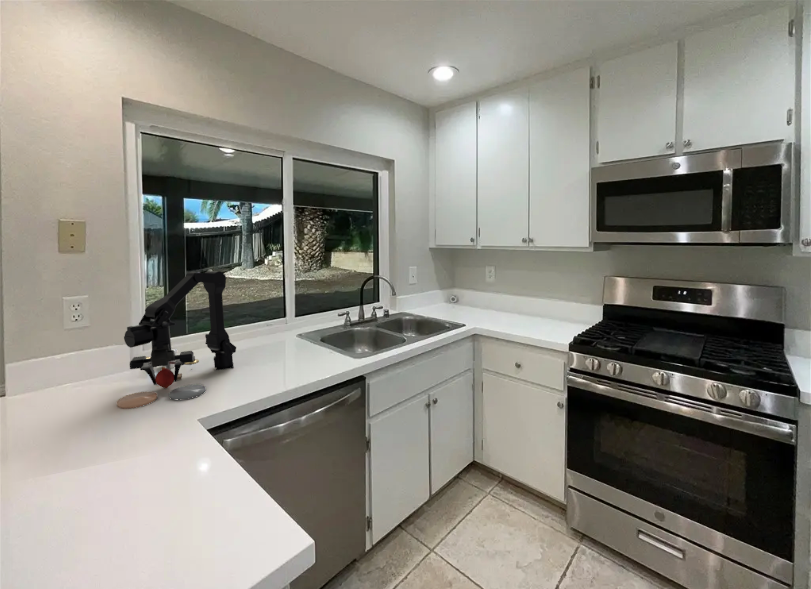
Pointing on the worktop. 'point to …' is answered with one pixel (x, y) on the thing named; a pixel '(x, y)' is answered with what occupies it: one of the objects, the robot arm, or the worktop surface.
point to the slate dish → (187, 391)
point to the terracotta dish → (136, 399)
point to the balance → (184, 364)
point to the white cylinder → (172, 364)
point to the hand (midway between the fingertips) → (165, 382)
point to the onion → (164, 378)
